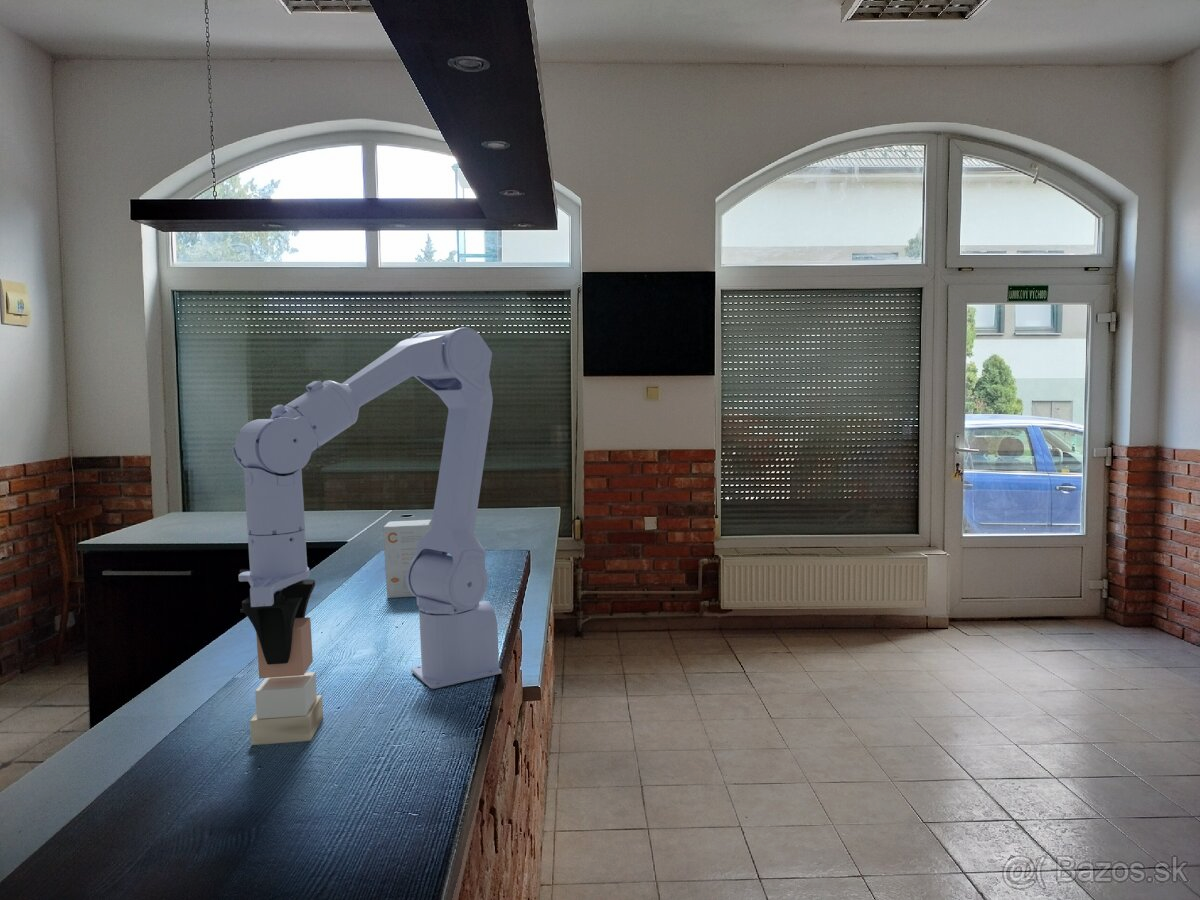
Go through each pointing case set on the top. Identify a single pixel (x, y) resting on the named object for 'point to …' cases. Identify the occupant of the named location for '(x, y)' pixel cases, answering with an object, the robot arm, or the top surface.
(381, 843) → the top surface
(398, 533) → the small box
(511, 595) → the top surface
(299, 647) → the terracotta block
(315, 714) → the tower base slab
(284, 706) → the tower top slab
